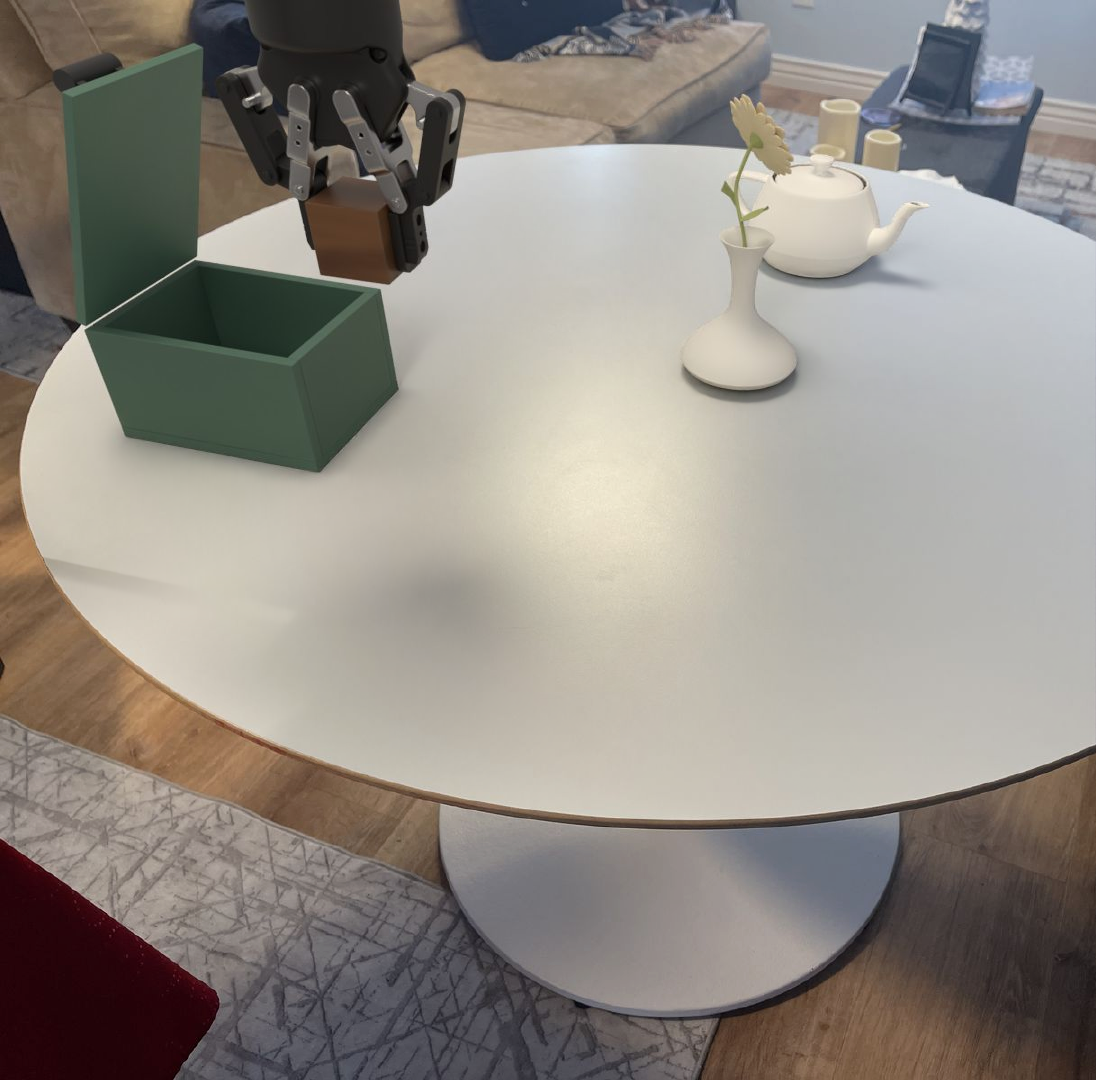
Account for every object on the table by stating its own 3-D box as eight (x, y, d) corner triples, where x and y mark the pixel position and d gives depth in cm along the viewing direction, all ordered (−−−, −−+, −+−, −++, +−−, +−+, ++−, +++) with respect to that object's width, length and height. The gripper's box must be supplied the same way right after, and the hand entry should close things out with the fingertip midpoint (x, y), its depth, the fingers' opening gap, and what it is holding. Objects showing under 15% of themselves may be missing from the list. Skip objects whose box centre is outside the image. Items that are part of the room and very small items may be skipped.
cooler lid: (203, 47, 77) (140, 17, 76) (72, 97, 66) (-1, 62, 66) (197, 256, 89) (143, 231, 88) (86, 326, 78) (24, 298, 78)
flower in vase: (807, 398, 95) (841, 127, 79) (689, 405, 93) (699, 128, 77) (776, 333, 105) (801, 81, 89) (669, 338, 103) (674, 80, 87)
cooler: (398, 388, 93) (381, 288, 87) (318, 472, 82) (291, 365, 76) (224, 358, 95) (194, 259, 89) (125, 436, 85) (83, 329, 78)
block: (389, 285, 58) (376, 212, 56) (319, 275, 59) (303, 202, 56) (421, 255, 62) (411, 184, 59) (355, 246, 62) (342, 175, 60)
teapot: (694, 258, 119) (697, 153, 111) (754, 217, 129) (761, 119, 122) (890, 313, 110) (909, 203, 102) (937, 264, 121) (957, 162, 113)
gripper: (477, -64, 51) (505, 253, 62) (223, -89, 53) (294, 223, 64) (413, -39, 46) (457, 305, 57) (131, -68, 47) (226, 271, 58)
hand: (370, 260), depth 60 cm, fingers closed on block, 4 cm apart
